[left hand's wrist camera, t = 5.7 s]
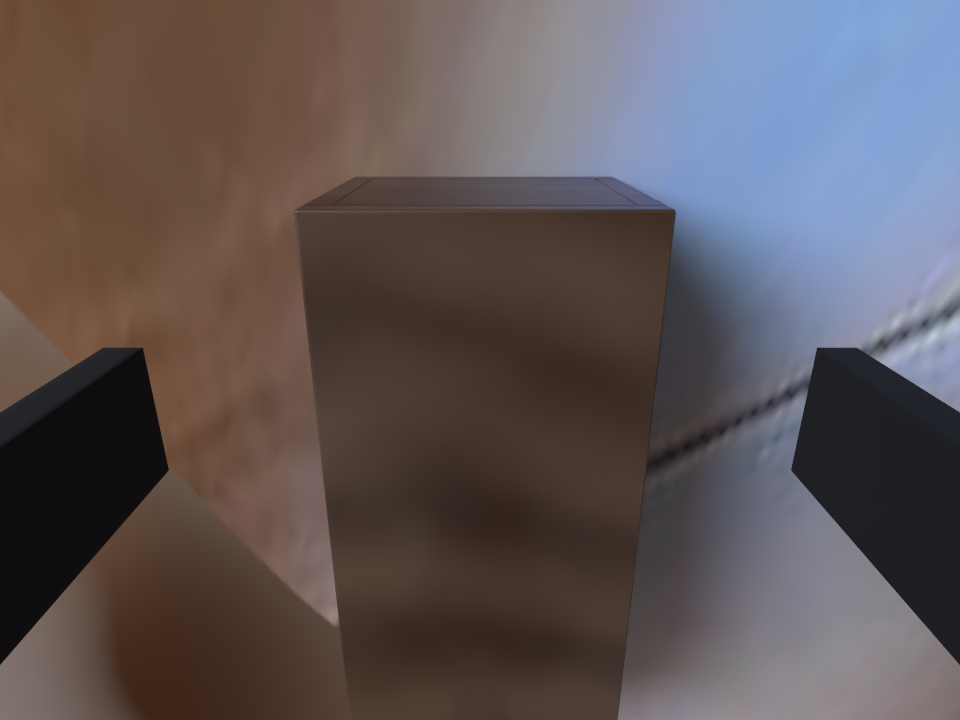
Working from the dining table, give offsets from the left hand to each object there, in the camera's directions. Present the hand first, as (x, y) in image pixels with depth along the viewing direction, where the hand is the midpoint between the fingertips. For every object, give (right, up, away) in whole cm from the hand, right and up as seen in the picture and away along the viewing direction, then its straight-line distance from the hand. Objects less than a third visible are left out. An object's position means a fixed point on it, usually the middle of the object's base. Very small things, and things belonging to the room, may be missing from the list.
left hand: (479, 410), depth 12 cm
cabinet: (0, -1, +16) cm, 16 cm away
